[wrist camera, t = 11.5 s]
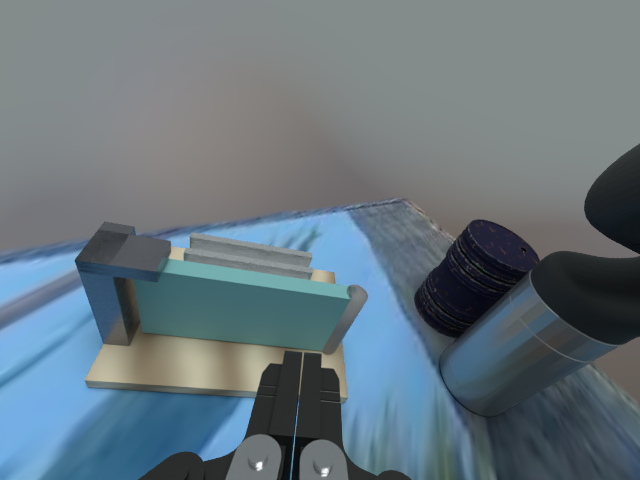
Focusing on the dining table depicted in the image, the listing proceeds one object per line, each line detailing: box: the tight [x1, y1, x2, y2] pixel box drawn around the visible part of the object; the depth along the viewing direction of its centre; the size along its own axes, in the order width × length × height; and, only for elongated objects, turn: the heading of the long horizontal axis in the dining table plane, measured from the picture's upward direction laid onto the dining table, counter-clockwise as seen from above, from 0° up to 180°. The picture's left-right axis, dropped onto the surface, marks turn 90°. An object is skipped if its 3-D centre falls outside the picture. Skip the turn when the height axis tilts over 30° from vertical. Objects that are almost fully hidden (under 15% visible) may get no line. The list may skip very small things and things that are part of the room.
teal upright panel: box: [133, 258, 368, 354], centre depth 31 cm, size 21×2×10 cm, turn 93°
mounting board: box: [85, 246, 348, 403], centre depth 37 cm, size 25×18×2 cm
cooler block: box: [75, 222, 313, 346], centre depth 32 cm, size 20×12×12 cm, turn 93°
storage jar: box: [414, 219, 540, 338], centre depth 44 cm, size 10×10×15 cm
